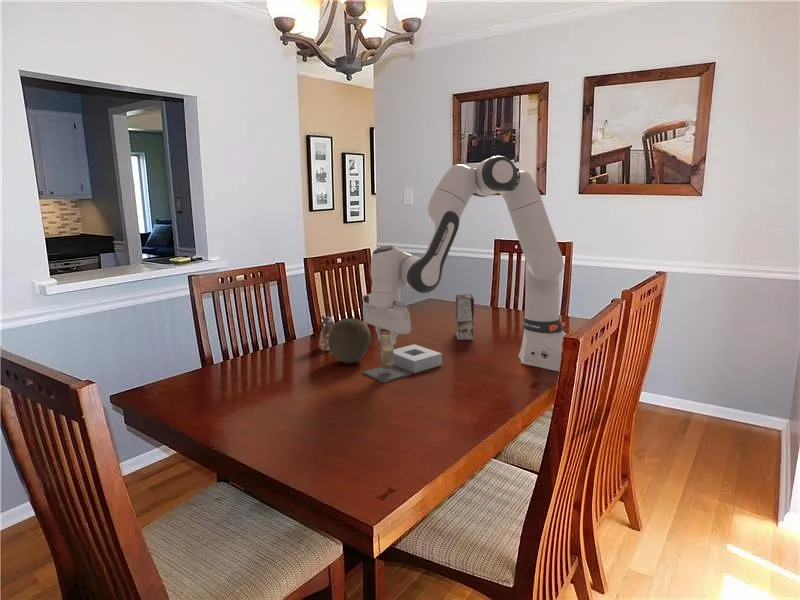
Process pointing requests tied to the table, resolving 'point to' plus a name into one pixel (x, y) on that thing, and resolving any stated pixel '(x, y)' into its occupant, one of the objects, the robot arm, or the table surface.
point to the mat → (387, 374)
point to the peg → (386, 350)
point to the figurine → (325, 332)
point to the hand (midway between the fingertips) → (386, 342)
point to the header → (416, 358)
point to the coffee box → (464, 316)
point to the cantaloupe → (349, 340)
